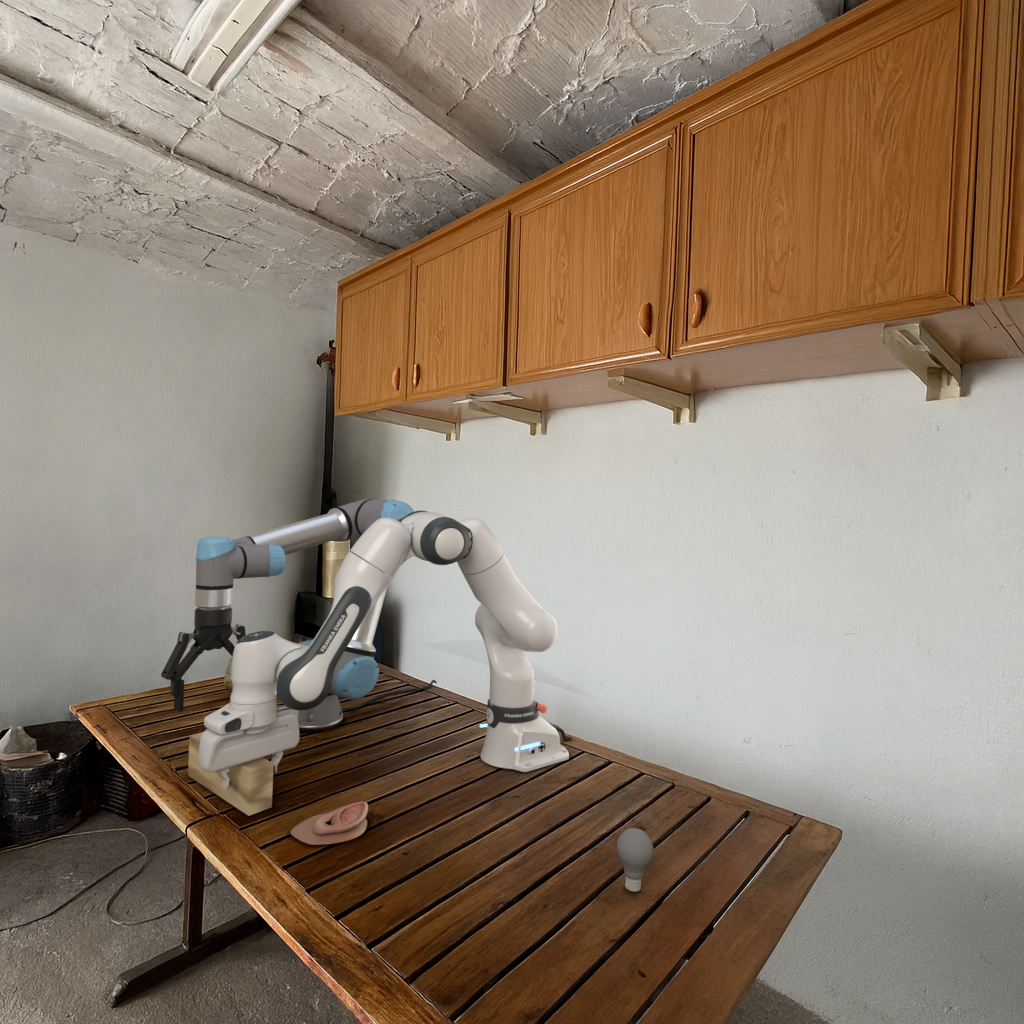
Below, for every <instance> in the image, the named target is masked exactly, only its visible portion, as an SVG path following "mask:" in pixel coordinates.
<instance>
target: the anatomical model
mask: <svg viewBox="0 0 1024 1024" xmlns="http://www.w3.org/2000/svg"><path fill="white" fill-rule="evenodd" d="M368 812H369V804H368V803H367V802H366V801H358V802H357V801H356V802H354V803H349V804H347V805H344V806H341V807H337V808H336V809H334V810H331V811H329V812H326V813H322V814H316V815H314V816H311V817H308V818H306V819H304V820H303V821H301V822H299V823H298V824H297V825H295V826H293V828H291V830H290V835H291V836H292V837H294V838H295V839H297V840H298V841H300V842H302V843H304V844H307V845H312V846H320V845H321V846H323V845H332V844H339V843H343V842H347V841H351V840H354V839H356V838H358V837H359V836H361V835H363V834H364V833H365V831H366V830H367V827H368V820H367V819H366V818H367V817H368V816H367V815H368V814H369V813H368Z"/></svg>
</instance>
